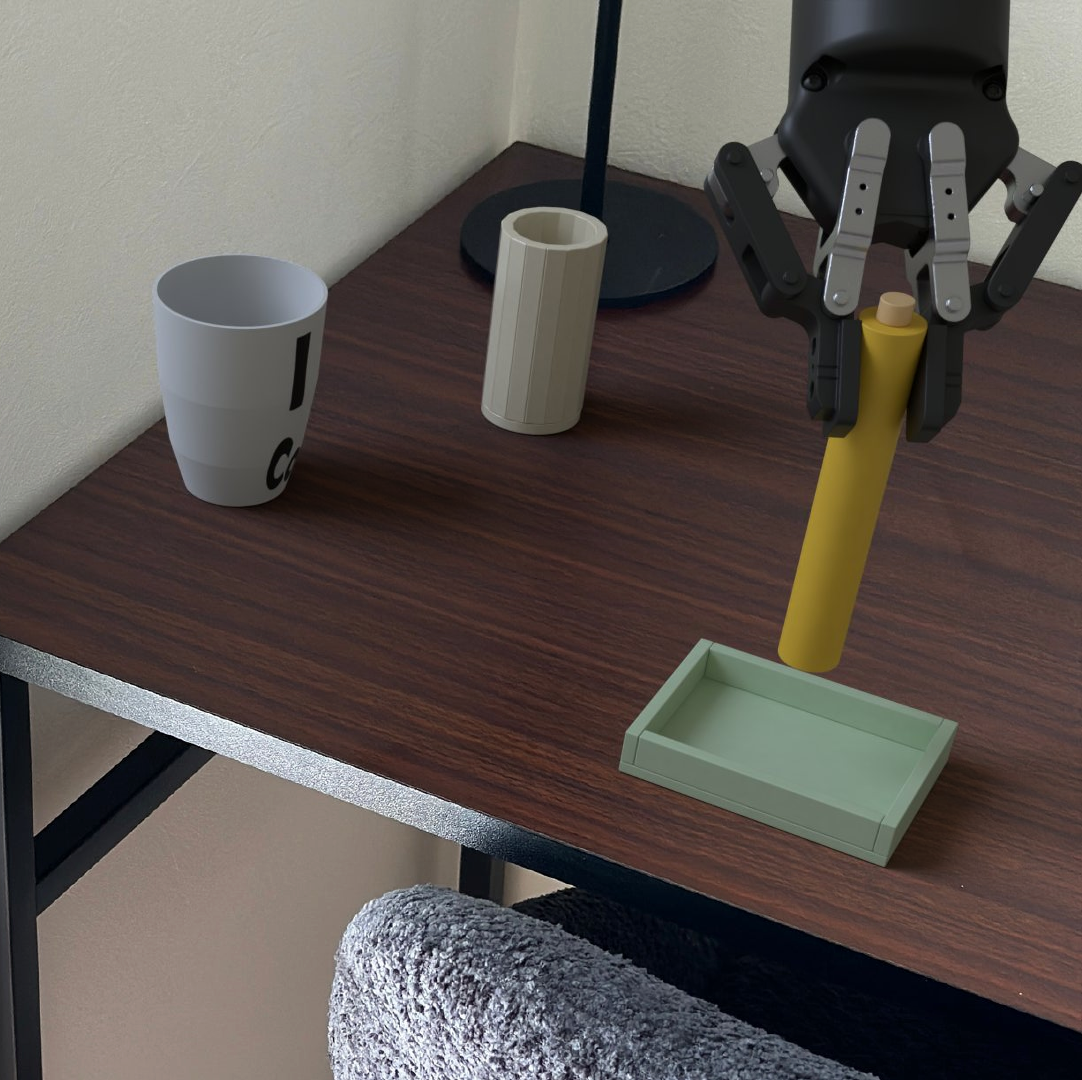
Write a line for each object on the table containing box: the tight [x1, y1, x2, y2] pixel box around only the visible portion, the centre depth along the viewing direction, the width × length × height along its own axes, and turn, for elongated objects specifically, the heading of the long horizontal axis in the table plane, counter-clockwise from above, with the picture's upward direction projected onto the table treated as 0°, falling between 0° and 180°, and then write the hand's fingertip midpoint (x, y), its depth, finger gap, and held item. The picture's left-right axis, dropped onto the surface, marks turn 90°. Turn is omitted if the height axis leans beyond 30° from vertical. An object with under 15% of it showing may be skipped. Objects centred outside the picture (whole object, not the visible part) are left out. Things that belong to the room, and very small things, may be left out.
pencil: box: [777, 291, 928, 674], centre depth 77 cm, size 2×2×15 cm
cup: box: [152, 253, 329, 507], centre depth 99 cm, size 8×8×10 cm
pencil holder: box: [480, 206, 609, 436], centre depth 106 cm, size 5×5×10 cm
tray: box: [618, 638, 960, 868], centre depth 85 cm, size 11×8×2 cm
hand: (882, 432), depth 74 cm, fingers closed on pencil, 2 cm apart
